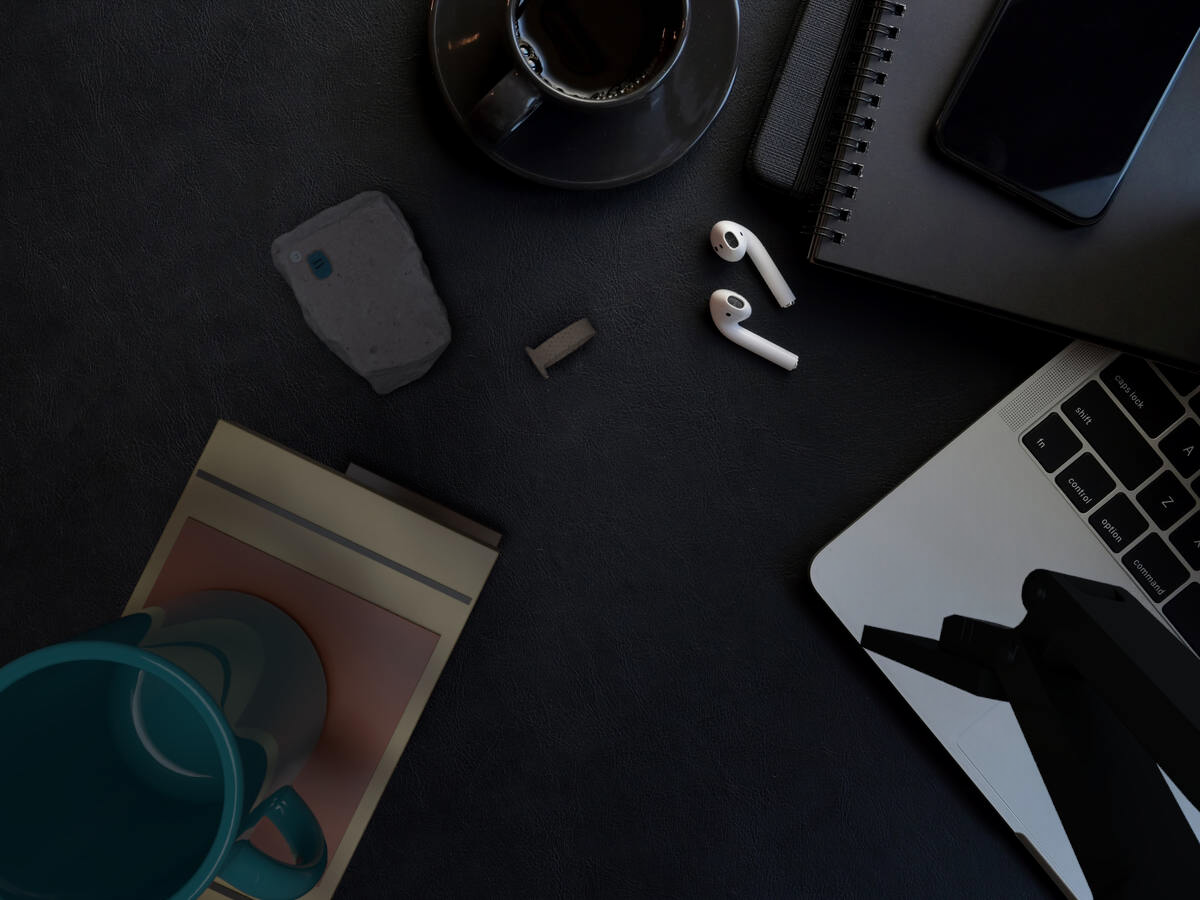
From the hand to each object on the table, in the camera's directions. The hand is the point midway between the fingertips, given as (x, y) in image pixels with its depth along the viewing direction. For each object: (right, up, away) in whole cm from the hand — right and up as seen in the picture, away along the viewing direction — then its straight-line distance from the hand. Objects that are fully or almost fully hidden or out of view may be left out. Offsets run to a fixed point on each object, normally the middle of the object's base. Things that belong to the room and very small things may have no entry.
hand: (855, 841), depth 31 cm
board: (-23, +3, +9) cm, 25 cm away
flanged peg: (-11, +21, +37) cm, 44 cm away
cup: (-23, +2, +8) cm, 25 cm away
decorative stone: (-25, +24, +36) cm, 50 cm away
